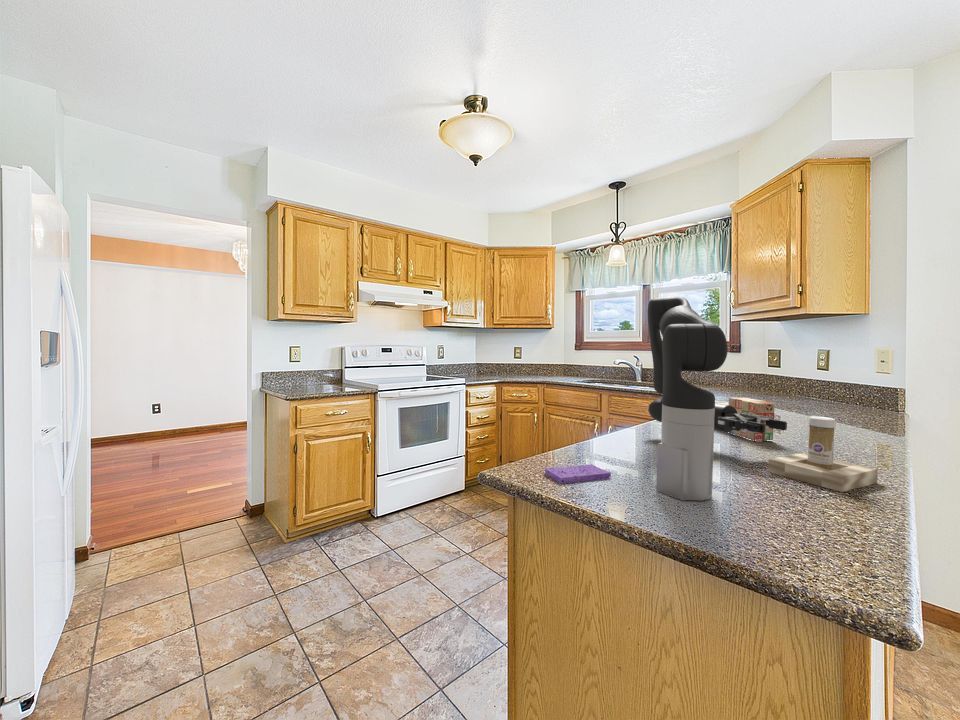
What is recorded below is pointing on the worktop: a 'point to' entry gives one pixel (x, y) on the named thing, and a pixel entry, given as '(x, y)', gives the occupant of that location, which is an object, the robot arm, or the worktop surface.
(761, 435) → the stack of blocks
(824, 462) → the sprinkles bottle
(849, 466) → the birch socket board
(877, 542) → the worktop surface
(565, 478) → the sponges
